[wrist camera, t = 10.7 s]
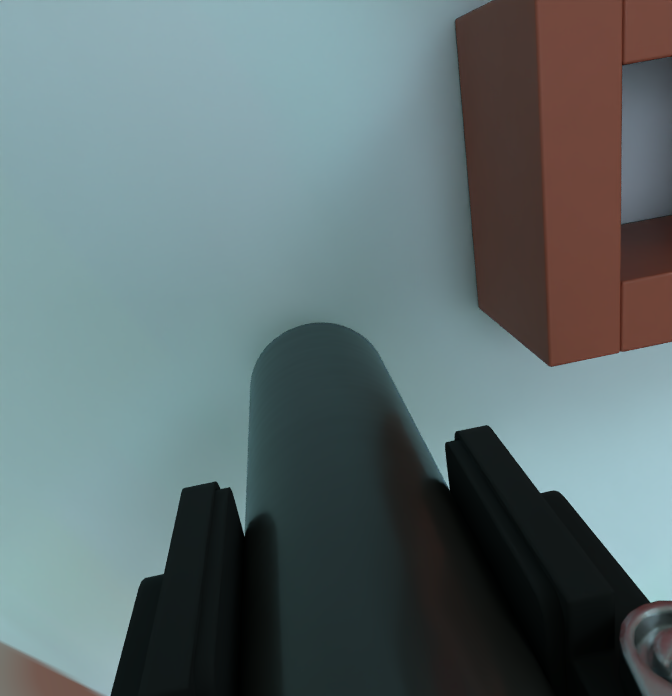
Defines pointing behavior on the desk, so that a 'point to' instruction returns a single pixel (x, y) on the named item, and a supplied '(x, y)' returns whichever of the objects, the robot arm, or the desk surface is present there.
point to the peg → (360, 542)
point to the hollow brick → (561, 175)
